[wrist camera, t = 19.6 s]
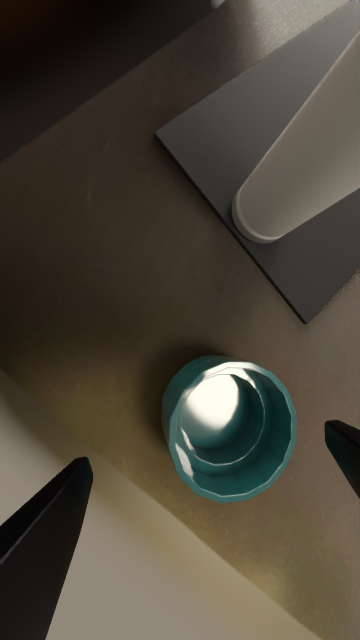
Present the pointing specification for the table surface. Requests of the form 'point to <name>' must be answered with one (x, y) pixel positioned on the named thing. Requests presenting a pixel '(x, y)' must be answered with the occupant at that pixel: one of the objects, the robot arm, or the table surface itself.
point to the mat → (251, 146)
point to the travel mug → (307, 158)
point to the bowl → (228, 427)
